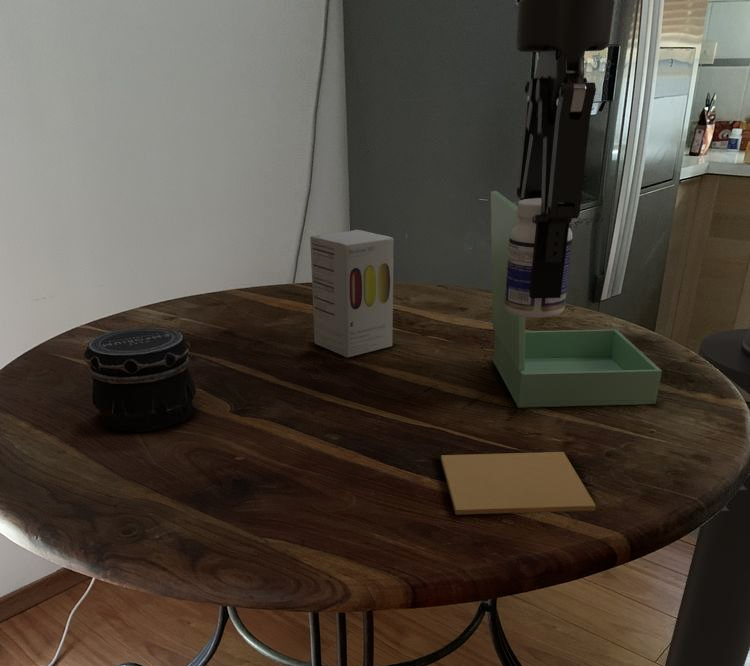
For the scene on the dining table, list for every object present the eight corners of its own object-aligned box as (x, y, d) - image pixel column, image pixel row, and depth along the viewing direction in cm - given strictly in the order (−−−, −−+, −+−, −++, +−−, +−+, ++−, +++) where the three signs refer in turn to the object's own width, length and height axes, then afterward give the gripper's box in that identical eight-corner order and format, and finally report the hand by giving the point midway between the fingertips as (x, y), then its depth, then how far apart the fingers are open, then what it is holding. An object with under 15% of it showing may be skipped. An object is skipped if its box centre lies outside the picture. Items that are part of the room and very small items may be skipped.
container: (153, 389, 102) (141, 318, 97) (219, 409, 96) (210, 334, 91) (75, 420, 93) (57, 344, 88) (143, 444, 87) (128, 364, 82)
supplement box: (347, 359, 112) (343, 244, 104) (312, 344, 119) (307, 235, 110) (394, 346, 118) (395, 236, 109) (359, 332, 124) (357, 227, 115)
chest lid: (496, 190, 99) (490, 191, 99) (526, 212, 83) (519, 213, 83) (498, 328, 108) (492, 329, 108) (524, 370, 93) (518, 371, 93)
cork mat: (563, 456, 83) (563, 451, 83) (595, 510, 73) (595, 505, 73) (440, 459, 83) (440, 455, 83) (455, 515, 73) (455, 509, 72)
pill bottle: (558, 302, 73) (570, 195, 68) (569, 319, 68) (583, 205, 63) (500, 302, 74) (508, 196, 68) (507, 319, 69) (517, 205, 64)
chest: (611, 358, 112) (616, 329, 109) (655, 404, 96) (662, 370, 94) (493, 361, 111) (495, 331, 109) (518, 407, 96) (521, 374, 93)
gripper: (497, 3, 66) (480, 266, 78) (549, -20, 50) (518, 317, 62) (580, 2, 66) (550, 265, 78) (657, -20, 50) (606, 315, 62)
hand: (536, 287), depth 70 cm, fingers closed on pill bottle, 6 cm apart
